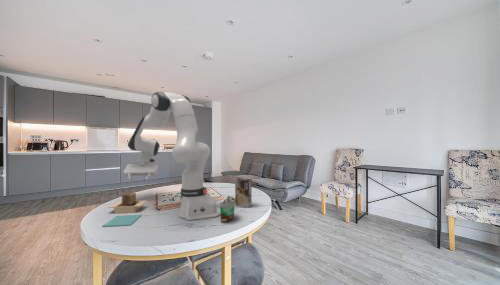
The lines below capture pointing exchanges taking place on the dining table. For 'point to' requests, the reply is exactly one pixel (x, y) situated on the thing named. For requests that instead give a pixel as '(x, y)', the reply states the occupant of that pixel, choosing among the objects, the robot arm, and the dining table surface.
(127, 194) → the block
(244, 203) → the coffee box
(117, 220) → the board
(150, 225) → the dining table surface
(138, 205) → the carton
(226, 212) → the food container
